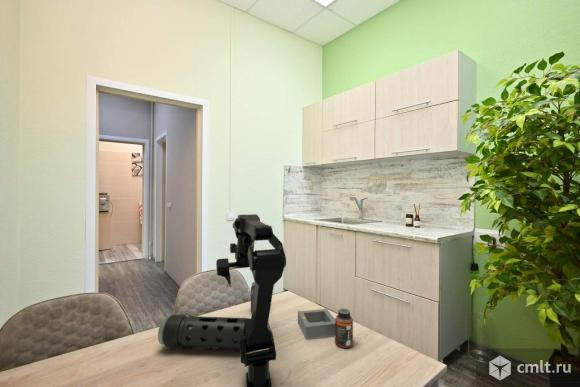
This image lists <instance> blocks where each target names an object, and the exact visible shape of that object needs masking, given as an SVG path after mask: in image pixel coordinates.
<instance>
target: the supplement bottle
mask: <svg viewBox="0 0 580 387" xmlns="http://www.w3.org/2000/svg"><path fill="white" fill-rule="evenodd" d="M334 319H335V336H334V343H335V345H336V346H337V347H339V348H342V349H349V348H351V347H352V346H353V343H354V340H353V339H354V319H353V317H352V316H351V311H350V309H348V308H339V309H338V310H337V315H336V316H335V318H334Z"/></svg>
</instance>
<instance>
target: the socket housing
mask: <svg viewBox="0 0 580 387" xmlns="http://www.w3.org/2000/svg"><path fill="white" fill-rule="evenodd" d="M297 325H298V327H299V328H300V330H301V332H302V335H303V336H304V339H305V340H315V339H323V338H332V337H334V338H335V318H334V316H333V315H332V314H331V312H330V311H329V310H328V308H322V309H321V308H319V309H310V310H309V309H308V310H300V311H297Z"/></svg>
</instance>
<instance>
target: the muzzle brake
mask: <svg viewBox="0 0 580 387" xmlns="http://www.w3.org/2000/svg"><path fill="white" fill-rule="evenodd" d="M246 319H250V318H249V317H230V316H229V317H228V316H227V317H226V316H225V317H223V316H201V315H200V316H195V315H190V316H187V315H186V314H176V313H175V314H171V315H169V316H165V317H164V318H162V320H161V322H160V324H159V328H158V331H157V341H158V343H159V344H161V345H164V346H165V347H167V348H180V347H181V349H189V350H190V349H193V348H207V349H210V350H212V349H217V350H227V351H229V350H230V351H240V342H239V341H240V340H241V335H242V334H243V331H244V323H245V320H246Z"/></svg>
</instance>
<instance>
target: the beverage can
mask: <svg viewBox="0 0 580 387" xmlns="http://www.w3.org/2000/svg"><path fill="white" fill-rule="evenodd" d="M254 291H255V281H254V282H252V283H251V287H250V312H252V307H253V299H254Z"/></svg>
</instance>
